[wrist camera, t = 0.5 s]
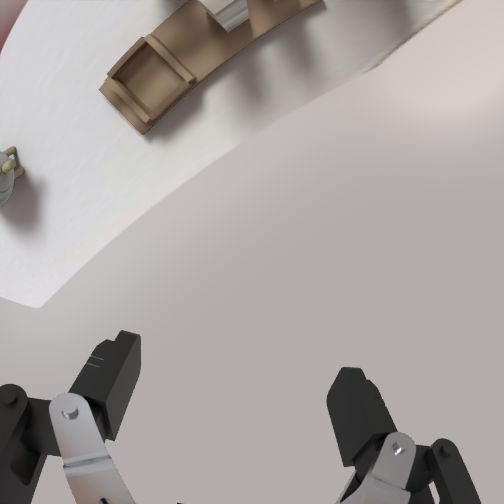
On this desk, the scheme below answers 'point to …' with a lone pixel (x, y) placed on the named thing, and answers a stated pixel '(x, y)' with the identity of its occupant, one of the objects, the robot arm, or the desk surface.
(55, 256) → the desk surface
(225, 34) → the rail
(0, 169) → the toy sheep
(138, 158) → the desk surface
